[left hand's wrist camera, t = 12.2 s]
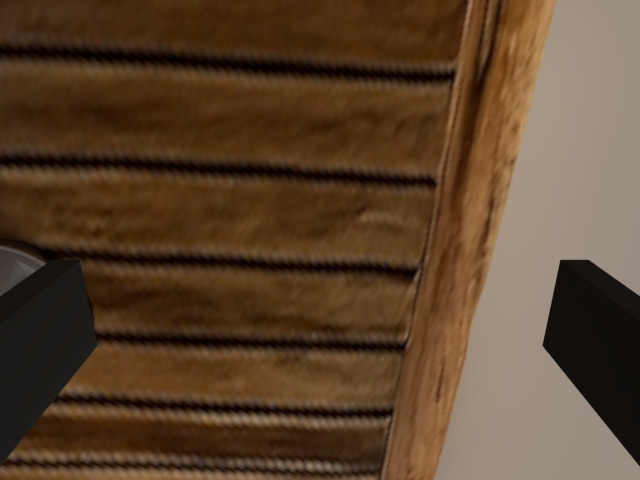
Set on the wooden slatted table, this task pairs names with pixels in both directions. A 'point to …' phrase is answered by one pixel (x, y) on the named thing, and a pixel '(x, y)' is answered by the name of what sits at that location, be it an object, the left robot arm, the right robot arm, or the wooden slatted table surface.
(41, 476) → the wooden slatted table surface
